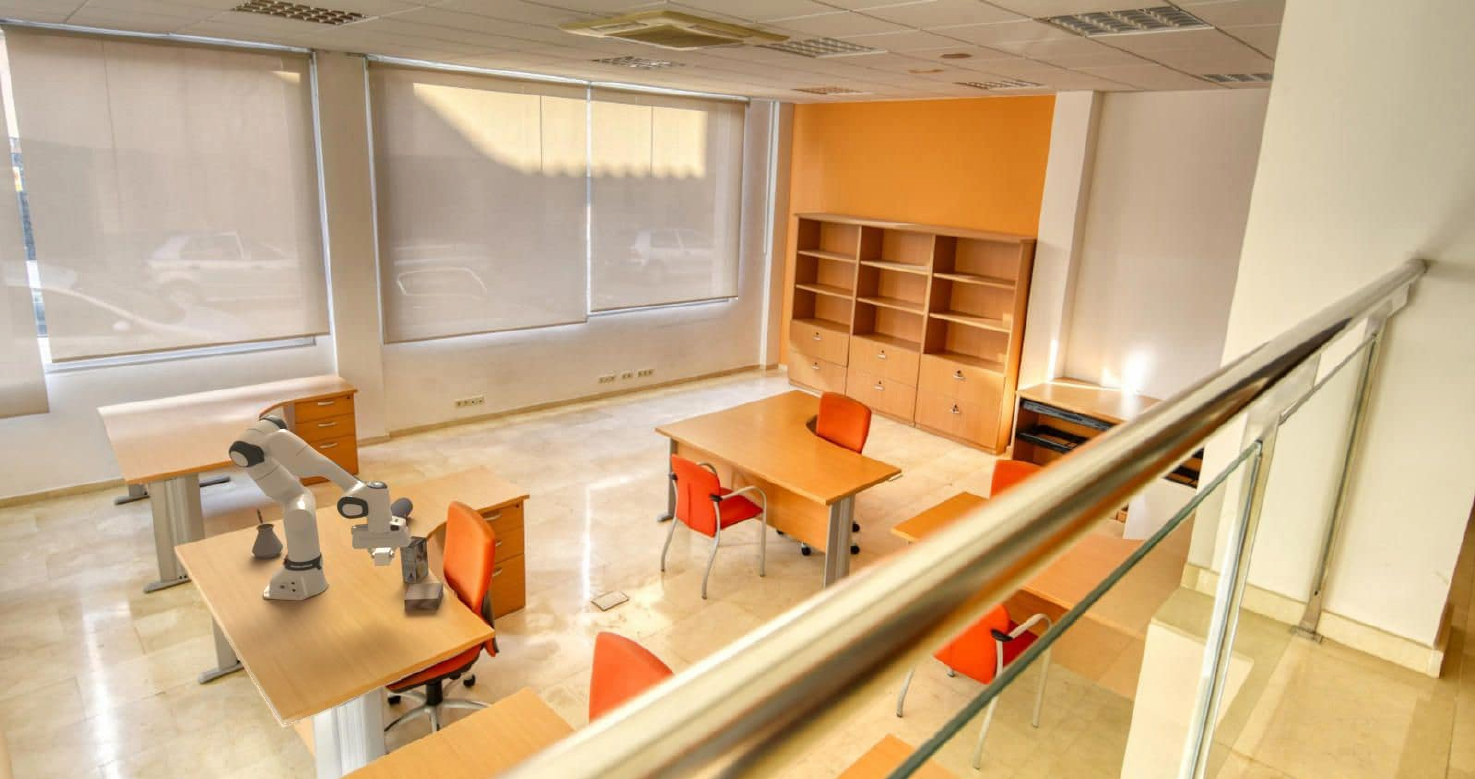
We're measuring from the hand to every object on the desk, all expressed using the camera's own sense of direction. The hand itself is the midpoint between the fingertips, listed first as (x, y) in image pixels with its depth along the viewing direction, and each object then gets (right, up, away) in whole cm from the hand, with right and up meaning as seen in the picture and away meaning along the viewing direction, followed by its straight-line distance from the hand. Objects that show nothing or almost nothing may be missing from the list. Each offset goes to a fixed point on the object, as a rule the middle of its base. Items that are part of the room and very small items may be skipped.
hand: (383, 557), depth 326 cm
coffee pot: (-67, -5, +43) cm, 80 cm away
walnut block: (+13, -19, +8) cm, 24 cm away
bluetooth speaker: (-22, +1, +69) cm, 73 cm away
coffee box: (+3, -13, +26) cm, 29 cm away
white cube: (0, -2, +1) cm, 2 cm away
